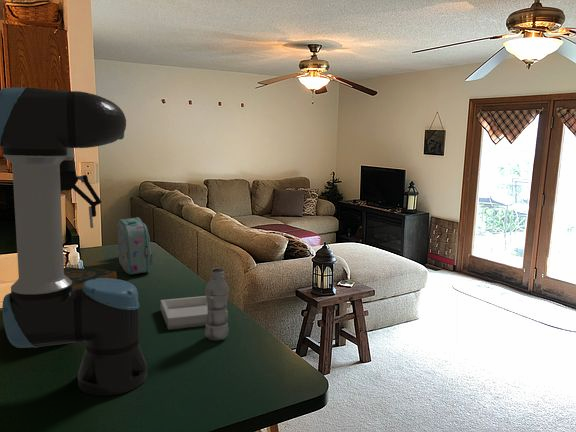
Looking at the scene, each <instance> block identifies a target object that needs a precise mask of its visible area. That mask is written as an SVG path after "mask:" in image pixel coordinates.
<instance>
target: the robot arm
mask: <svg viewBox="0 0 576 432" xmlns="http://www.w3.org/2000/svg"><path fill="white" fill-rule="evenodd" d="M126 128H127V119H126V116H125V113H124V111H123V110H122V108H121V107H120V106H118V105H117V104H116V103H115V102H112V101H111V100H109V99H107V98H104V97H102V96H101V95H100V96H99V95H97V94H94V93H90V92H85V91H80V90H79V91H78V90H75V91H73V90H63V89H62V90H60V89H48V88H47V89H46V88H37V87H36V88H35V87H27V86H24V87H5V88H4V87H3V88H2V89H0V148H2V156H3V158H5V160H6V161H9V163H10V164H11V166H12V181H13V202H14V217H15V221H14V222H15V235H16V236H15V237H16V253H17V268H18V269H17V271H18V274H17V275H18V279H17V280H16V281H15V282H14V283H13V284H12V285H11V286H10V292H9V293H7V294H6V295H5V296H4V297H3V298H2V305H1V307H2V321H3V325H4V330H5V334H6V337H7V340H8V341H9V343H10V345H12V346H13V347H15V348H19V349H21V348H22V349H24V348H34V349H38V348H40V347H47V346H56V345H65V344H71V343H72V344H74V343H81V342H84V353H83V357H82V360H81V362H80V365H79V369H78V373H77V386H78V388H79V390H81V391H82V392H84V393H85V394H88V395H92V396H97V397H98V396H99V397H104V396H105V397H106V396H107V397H109V396H110V397H111V396H115V395H121V394H125V393H127V392H131V391H133V390H135V389H137V388H138V387H140V386H141V385H143V383H145V381H146V379H147V378H148V365H147V362H146V359H145V357H144V356H145V355H144V354H143V352H142V349H141V345H140V329H139V328H140V327H139V326H140V325H139V324H140V323H139V309H140V302H139V292H138V291H139V290H138V289H137V287H136V286H135V285H134V284H133V283H131V282H129V281H126V280H123V279H120V278H119V279H118V278H117V279H112V278H97V279H95V280H92V279H91V280H88V281H86V282H85V283H84V284H83V286H82V289H72V281H71V280H70V279H69V278H68V277H66V276H65V275H64V268H65V265H64V243H63V242H64V240H63V220H62V217H63V216H62V195H61V194H62V193H61V191H72V190H73V191H74V192H76V193H77V194H78V195H79V196H80V197H81V198H82V199H84V201H86V202H87V204H89V206H88V217H89V226H90V229H93V228H94V222H93V221H94V218H95V217H96V216H97V211H96V209H97V208H96V206H98V205H101V203H102V200H101V199H100V197H99V195H98V193H97V192H96V191H95V190H94V188H93V186H92V185H91V184H90V182H89V178H88V175H87V174H84V175H79V176H78V175H77V169H76V161H75V149H87V148H95V147H101V146H104V145H105V146H106V145H108V144H109V145H110V144H112V143H115V142H116V141H118V140H123V139H124V138H125V131H126ZM78 181H80V182H81V183H83V184H84V185H85V187H86V188H87V190H88V192H90V194H91V196H92V197H93V198H94V201H93V200H92V199H91V197H89V196H88V195H87V194H86V193H85V192H84V191H82V190H81V189H80V187H78V185H76V184H77V183H78Z"/></svg>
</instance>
